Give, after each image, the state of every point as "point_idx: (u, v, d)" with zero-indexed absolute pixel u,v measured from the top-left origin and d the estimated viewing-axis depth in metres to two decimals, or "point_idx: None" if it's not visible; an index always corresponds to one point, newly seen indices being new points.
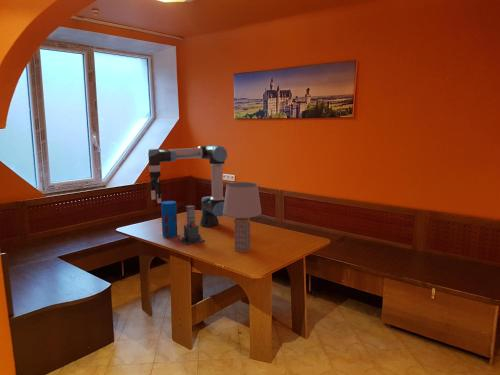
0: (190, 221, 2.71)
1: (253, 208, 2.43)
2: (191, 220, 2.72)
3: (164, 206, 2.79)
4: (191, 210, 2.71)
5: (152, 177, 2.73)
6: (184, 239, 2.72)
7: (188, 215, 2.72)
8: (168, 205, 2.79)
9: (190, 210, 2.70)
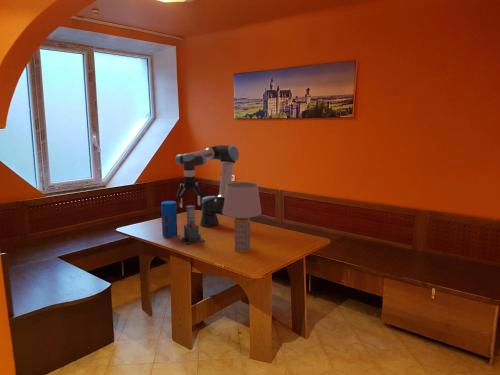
0: (190, 221, 2.71)
1: (253, 208, 2.43)
2: (191, 220, 2.72)
3: (164, 206, 2.79)
4: (191, 210, 2.71)
5: None
6: (184, 239, 2.72)
7: (188, 215, 2.72)
8: (168, 205, 2.79)
9: (190, 210, 2.70)
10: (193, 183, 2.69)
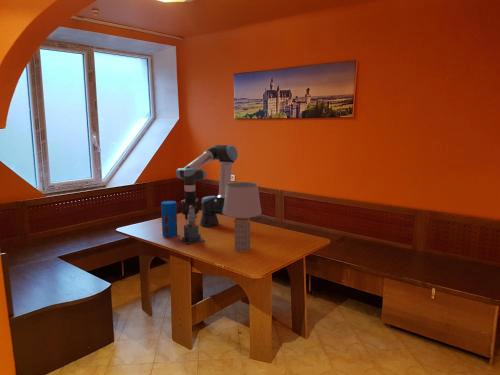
0: (190, 221, 2.71)
1: (253, 208, 2.43)
2: (191, 220, 2.72)
3: (164, 206, 2.79)
4: (191, 210, 2.71)
5: None
6: (184, 239, 2.72)
7: None
8: (168, 205, 2.79)
9: (190, 210, 2.70)
10: (194, 197, 2.71)
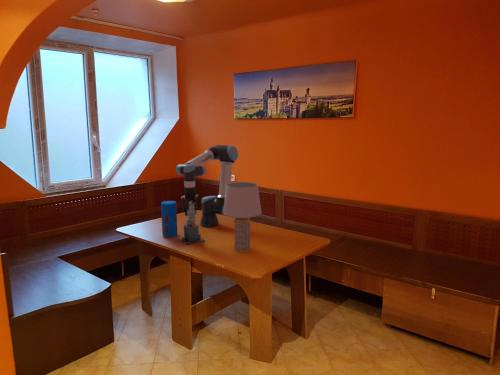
0: (190, 217, 2.71)
1: (253, 208, 2.43)
2: (191, 216, 2.71)
3: (164, 206, 2.79)
4: (191, 206, 2.70)
5: None
6: (184, 239, 2.72)
7: None
8: (168, 205, 2.79)
9: (190, 206, 2.70)
10: (194, 193, 2.71)
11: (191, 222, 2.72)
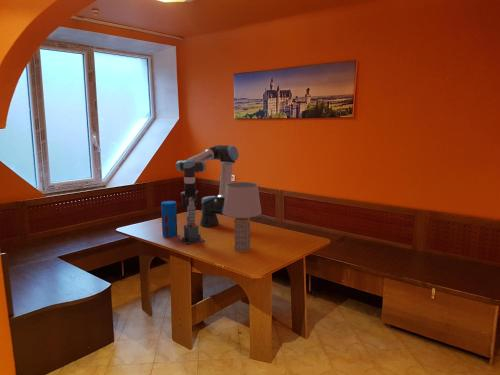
0: (190, 213, 2.70)
1: (253, 208, 2.43)
2: (191, 212, 2.71)
3: (164, 206, 2.79)
4: (191, 202, 2.70)
5: None
6: (184, 239, 2.72)
7: None
8: (168, 205, 2.79)
9: (190, 202, 2.69)
10: (194, 189, 2.70)
11: (191, 218, 2.72)
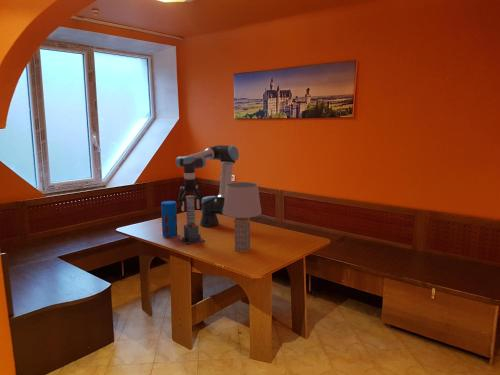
0: (190, 211, 2.70)
1: (253, 208, 2.43)
2: (191, 210, 2.71)
3: (164, 206, 2.79)
4: (191, 200, 2.69)
5: None
6: (184, 239, 2.72)
7: (188, 205, 2.70)
8: (168, 205, 2.79)
9: (190, 200, 2.69)
10: (193, 185, 2.70)
11: (191, 216, 2.71)
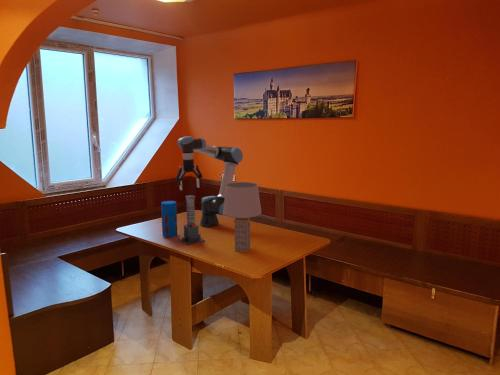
0: (190, 211, 2.70)
1: (253, 208, 2.43)
2: (191, 210, 2.71)
3: (164, 206, 2.79)
4: (191, 200, 2.69)
5: None
6: (184, 239, 2.72)
7: (188, 205, 2.70)
8: (168, 205, 2.79)
9: (190, 200, 2.69)
10: (192, 166, 2.74)
11: (191, 216, 2.71)
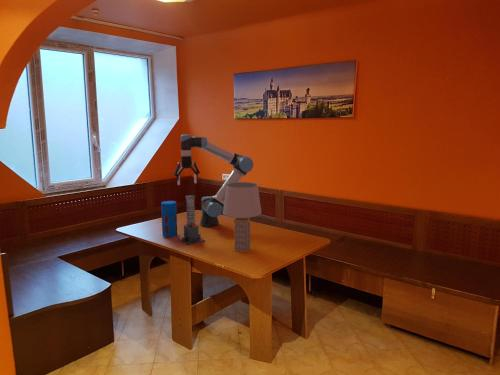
0: (190, 211, 2.70)
1: (253, 208, 2.43)
2: (191, 210, 2.71)
3: (164, 206, 2.79)
4: (191, 200, 2.69)
5: None
6: (184, 239, 2.72)
7: (188, 205, 2.70)
8: (168, 205, 2.79)
9: (190, 200, 2.69)
10: (190, 162, 2.90)
11: (191, 216, 2.71)
